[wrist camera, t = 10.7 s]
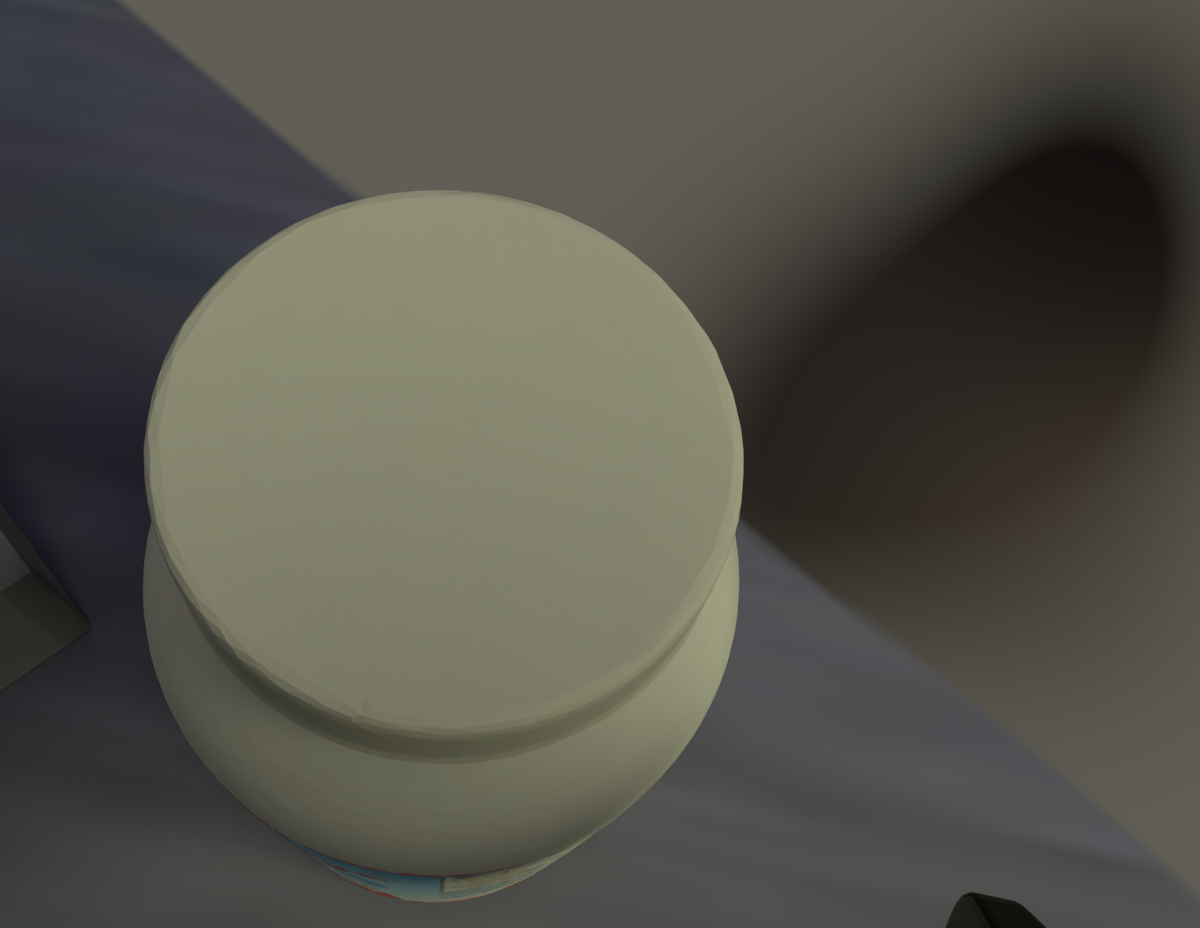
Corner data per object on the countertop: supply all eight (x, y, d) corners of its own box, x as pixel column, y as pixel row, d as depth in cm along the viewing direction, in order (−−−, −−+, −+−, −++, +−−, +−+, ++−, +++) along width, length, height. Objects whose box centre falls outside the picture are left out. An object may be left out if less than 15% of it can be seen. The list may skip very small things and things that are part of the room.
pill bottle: (202, 637, 19) (-90, 262, 9) (526, 485, 21) (601, 26, 10) (357, 986, 17) (217, 1031, 7) (696, 788, 19) (985, 590, 9)
